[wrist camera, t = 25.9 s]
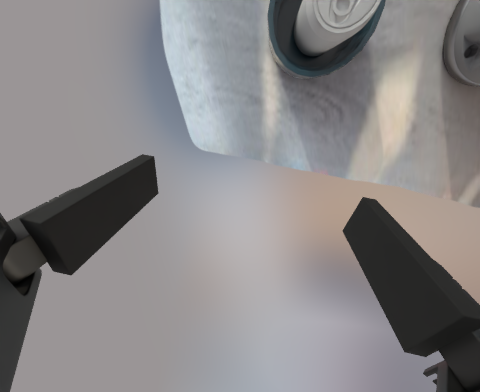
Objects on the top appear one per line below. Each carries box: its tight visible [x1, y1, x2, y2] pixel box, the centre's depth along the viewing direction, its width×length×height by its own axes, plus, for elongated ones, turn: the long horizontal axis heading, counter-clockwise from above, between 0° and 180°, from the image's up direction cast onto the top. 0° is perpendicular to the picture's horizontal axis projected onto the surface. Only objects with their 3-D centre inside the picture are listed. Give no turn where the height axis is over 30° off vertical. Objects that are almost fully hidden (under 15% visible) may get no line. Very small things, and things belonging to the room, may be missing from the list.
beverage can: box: [294, 0, 381, 56], centre depth 20 cm, size 6×6×12 cm
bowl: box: [268, 0, 385, 79], centre depth 22 cm, size 12×12×6 cm
